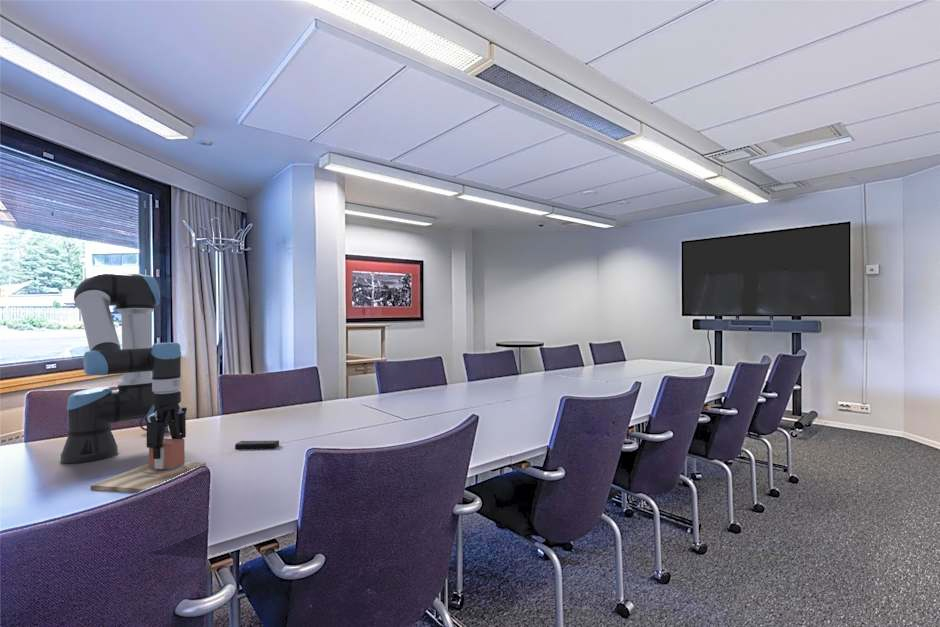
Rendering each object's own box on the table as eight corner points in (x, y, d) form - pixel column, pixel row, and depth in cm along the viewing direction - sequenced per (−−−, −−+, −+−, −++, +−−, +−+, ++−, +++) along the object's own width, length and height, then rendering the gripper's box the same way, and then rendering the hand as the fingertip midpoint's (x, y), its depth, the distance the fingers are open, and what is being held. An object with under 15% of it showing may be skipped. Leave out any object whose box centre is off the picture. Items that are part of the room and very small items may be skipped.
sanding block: (149, 468, 139) (148, 442, 139) (162, 463, 144) (162, 438, 144) (171, 469, 137) (171, 443, 137) (184, 464, 142) (184, 439, 142)
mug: (163, 434, 184) (163, 417, 184) (136, 435, 183) (136, 418, 183) (171, 429, 191) (171, 414, 191) (145, 431, 189) (145, 415, 189)
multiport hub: (274, 450, 163) (274, 443, 163) (234, 450, 162) (234, 444, 162) (279, 446, 167) (279, 440, 167) (240, 447, 167) (240, 440, 167)
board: (90, 489, 126) (90, 485, 126) (157, 463, 147) (157, 459, 147) (145, 493, 123) (145, 488, 123) (205, 466, 144) (205, 462, 144)
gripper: (152, 397, 131) (152, 476, 131) (199, 387, 149) (199, 456, 149) (130, 396, 132) (130, 475, 132) (179, 386, 150) (179, 455, 150)
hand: (167, 465), depth 140 cm, fingers closed on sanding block, 5 cm apart
